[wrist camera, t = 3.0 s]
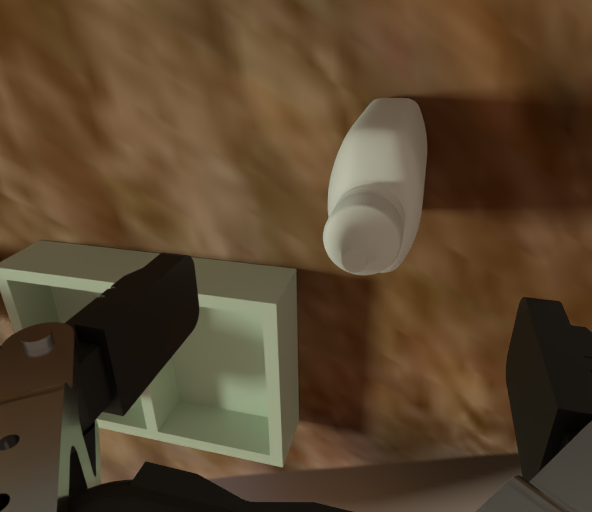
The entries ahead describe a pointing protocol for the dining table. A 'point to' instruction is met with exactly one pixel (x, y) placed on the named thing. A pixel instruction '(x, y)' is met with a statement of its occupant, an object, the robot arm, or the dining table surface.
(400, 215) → the eye dropper bottle
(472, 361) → the dining table surface
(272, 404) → the caddy
